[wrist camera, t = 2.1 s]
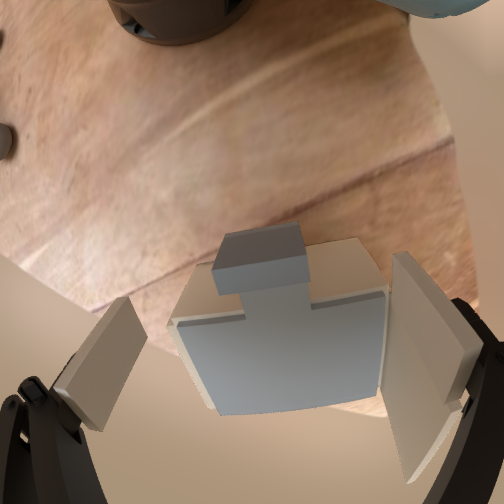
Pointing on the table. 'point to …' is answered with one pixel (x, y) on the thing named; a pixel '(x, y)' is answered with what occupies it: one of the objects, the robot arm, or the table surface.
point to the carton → (393, 349)
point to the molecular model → (5, 140)
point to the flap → (283, 331)
